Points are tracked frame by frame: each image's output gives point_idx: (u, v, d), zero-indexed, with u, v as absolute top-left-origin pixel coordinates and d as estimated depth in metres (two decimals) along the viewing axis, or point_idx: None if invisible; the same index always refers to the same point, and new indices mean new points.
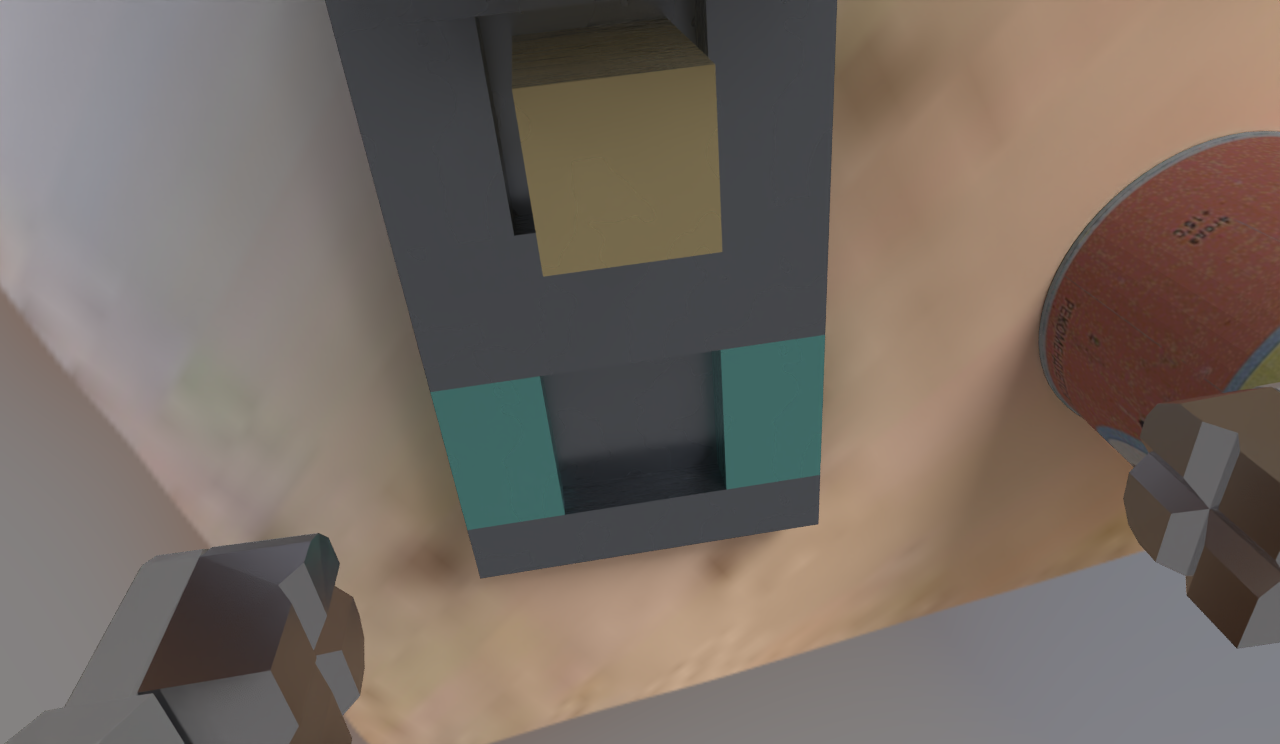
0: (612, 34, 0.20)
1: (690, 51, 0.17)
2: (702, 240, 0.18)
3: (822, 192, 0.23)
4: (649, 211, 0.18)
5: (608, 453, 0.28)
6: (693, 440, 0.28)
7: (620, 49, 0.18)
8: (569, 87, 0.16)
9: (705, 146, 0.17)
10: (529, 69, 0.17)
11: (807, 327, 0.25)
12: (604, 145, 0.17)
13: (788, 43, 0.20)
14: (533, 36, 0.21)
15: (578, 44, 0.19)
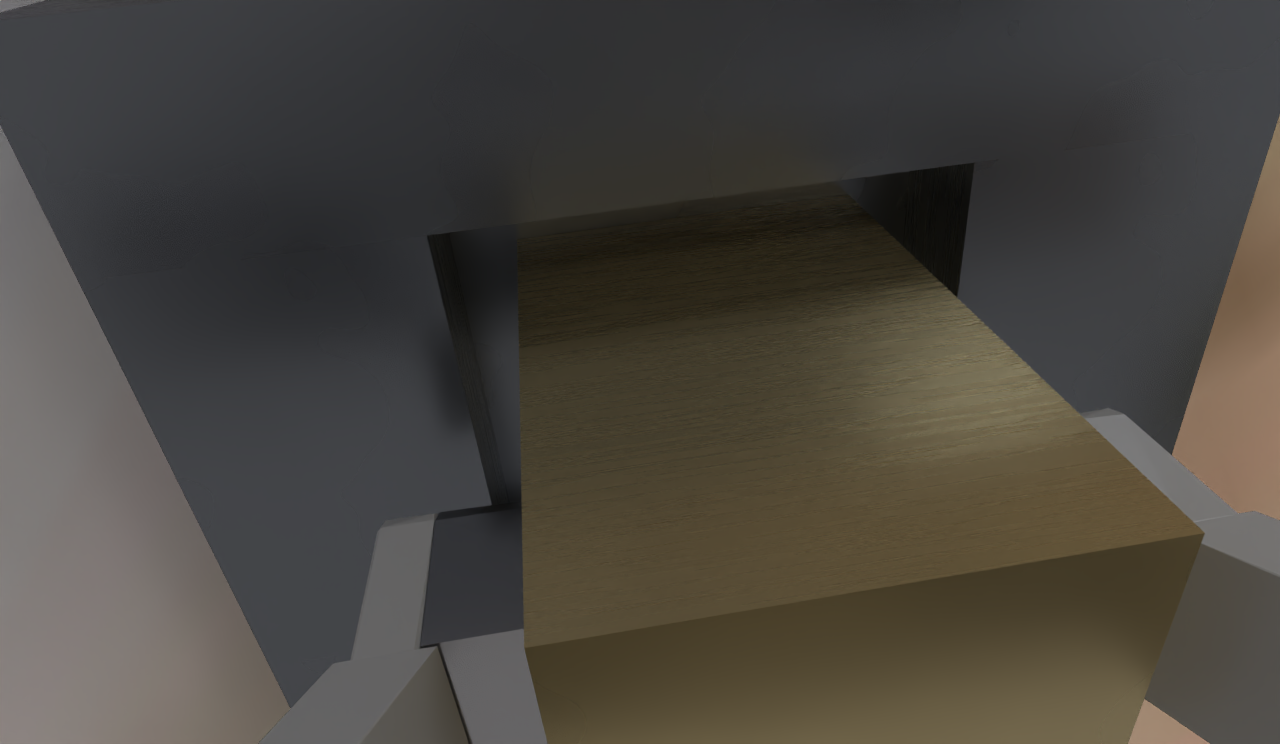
0: (752, 262, 0.09)
1: (1033, 401, 0.06)
2: None
3: None
4: None
5: None
6: None
7: (806, 353, 0.07)
8: (720, 628, 0.05)
9: (1104, 712, 0.06)
10: (572, 460, 0.06)
11: None
12: (812, 738, 0.05)
13: (1134, 265, 0.09)
14: (565, 247, 0.09)
15: (681, 306, 0.08)
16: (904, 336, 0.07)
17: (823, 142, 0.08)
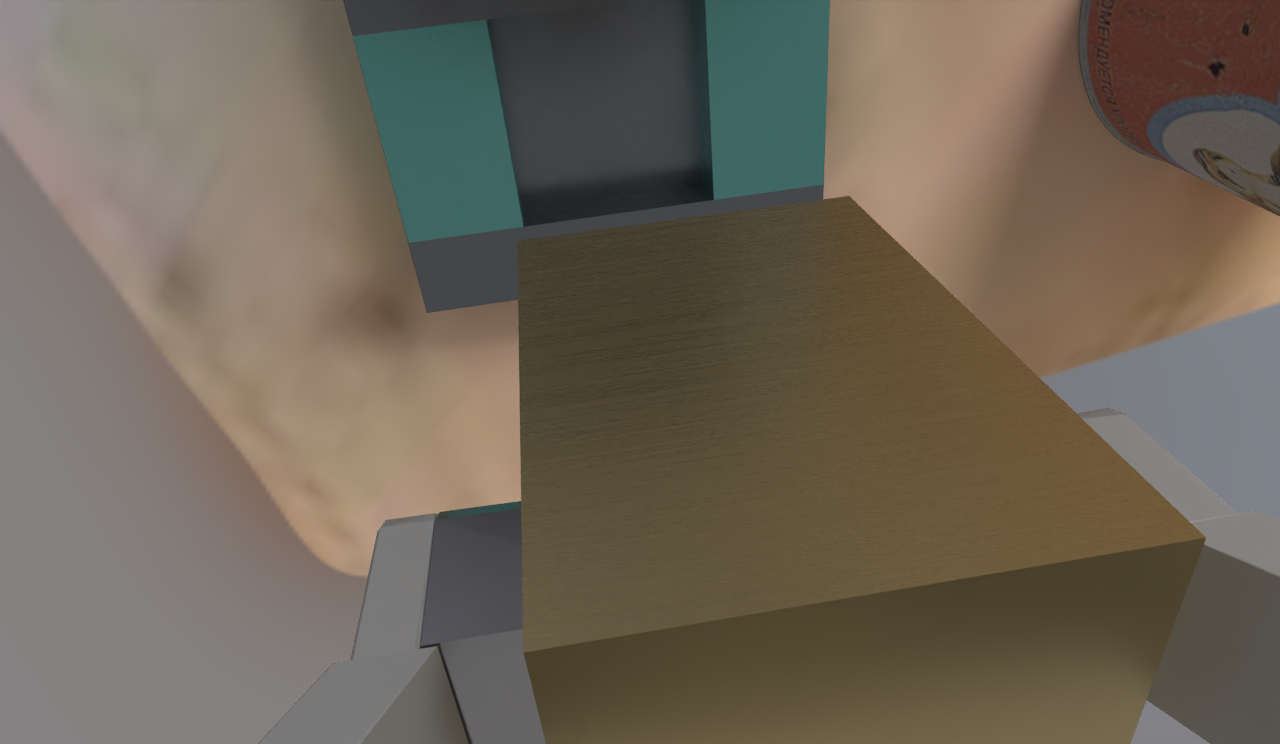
0: (752, 264, 0.08)
1: (1034, 404, 0.06)
2: None
3: None
4: None
5: (575, 163, 0.24)
6: (675, 148, 0.24)
7: (806, 356, 0.07)
8: (719, 632, 0.05)
9: (1105, 716, 0.06)
10: (572, 463, 0.06)
11: None
12: (812, 743, 0.05)
13: None
14: (565, 249, 0.09)
15: (682, 309, 0.08)
16: (905, 339, 0.07)
17: None
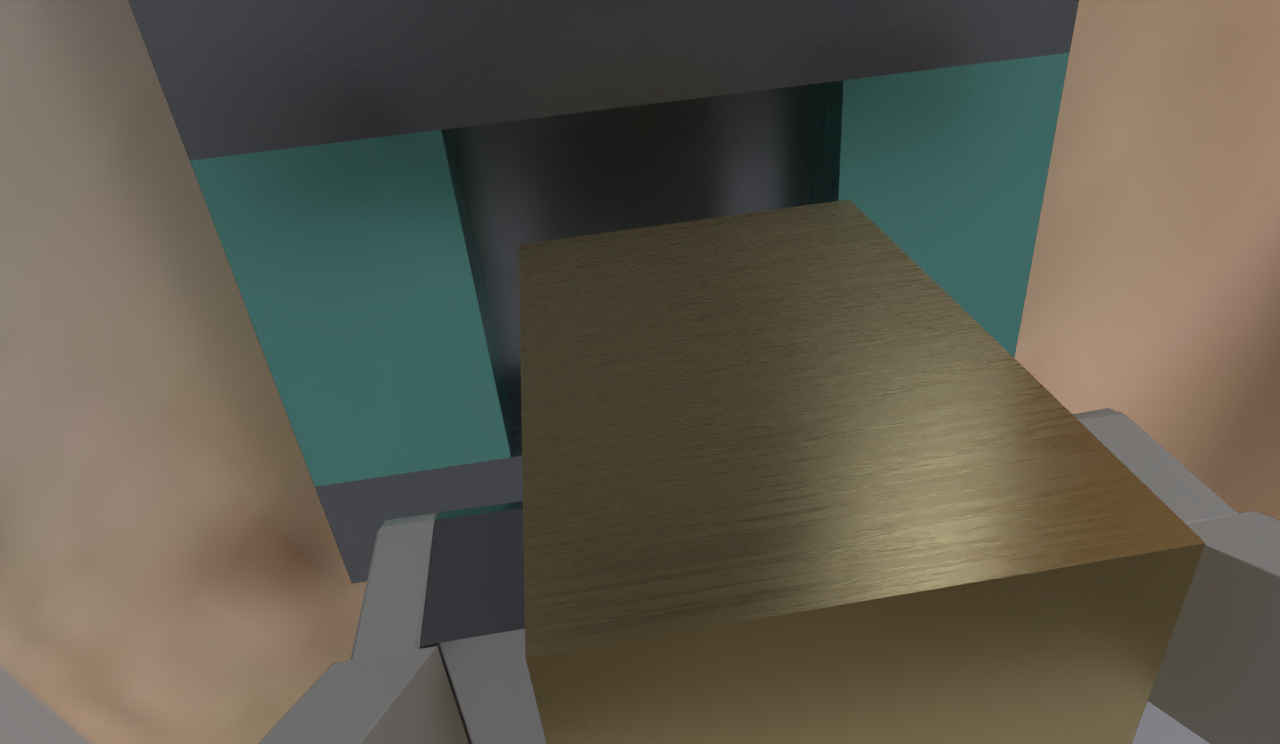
0: (753, 267, 0.09)
1: (1034, 409, 0.06)
2: None
3: None
4: None
5: None
6: None
7: (807, 360, 0.07)
8: (720, 637, 0.05)
9: (1105, 720, 0.06)
10: (573, 468, 0.06)
11: (1035, 30, 0.11)
12: None
13: None
14: (566, 252, 0.09)
15: (683, 312, 0.08)
16: (905, 343, 0.07)
17: None
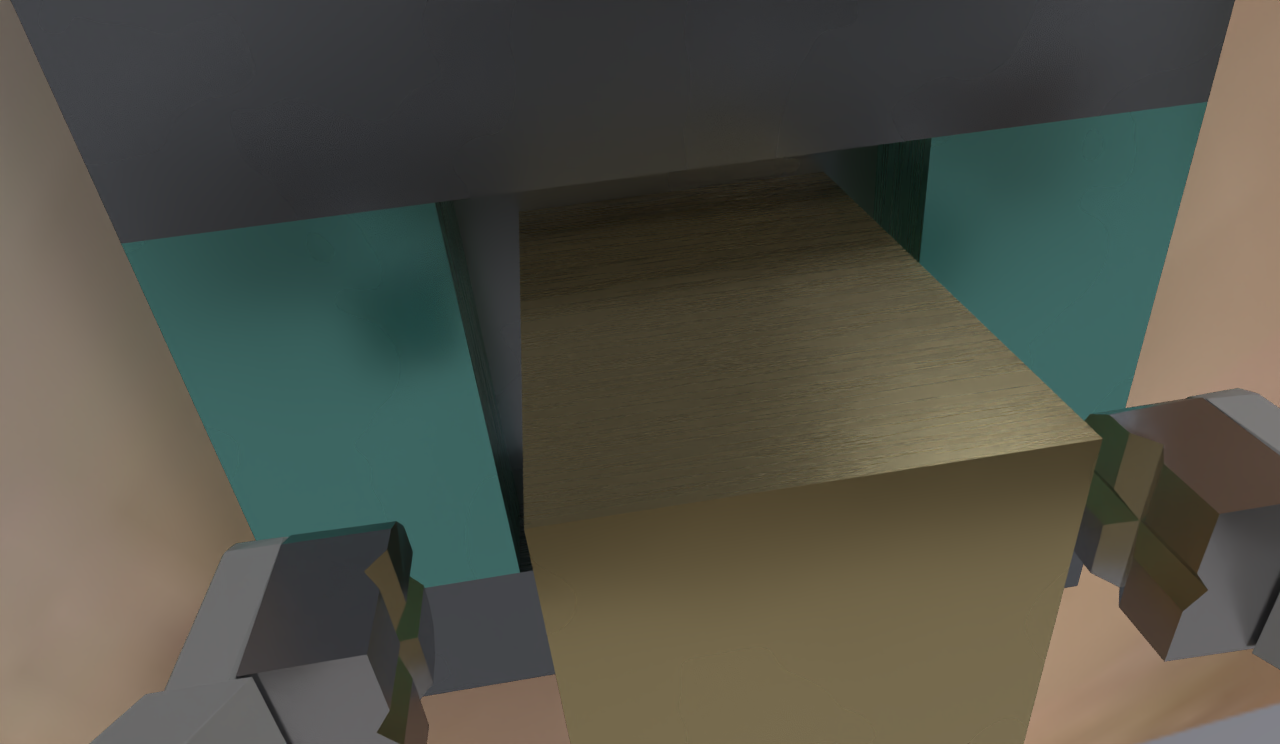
0: (732, 229, 0.09)
1: (971, 340, 0.07)
2: None
3: None
4: (863, 730, 0.07)
5: None
6: None
7: (775, 304, 0.08)
8: (689, 514, 0.06)
9: (1027, 606, 0.06)
10: (566, 389, 0.07)
11: (1168, 76, 0.09)
12: (772, 623, 0.06)
13: None
14: (562, 218, 0.10)
15: (666, 266, 0.09)
16: (863, 289, 0.08)
17: None
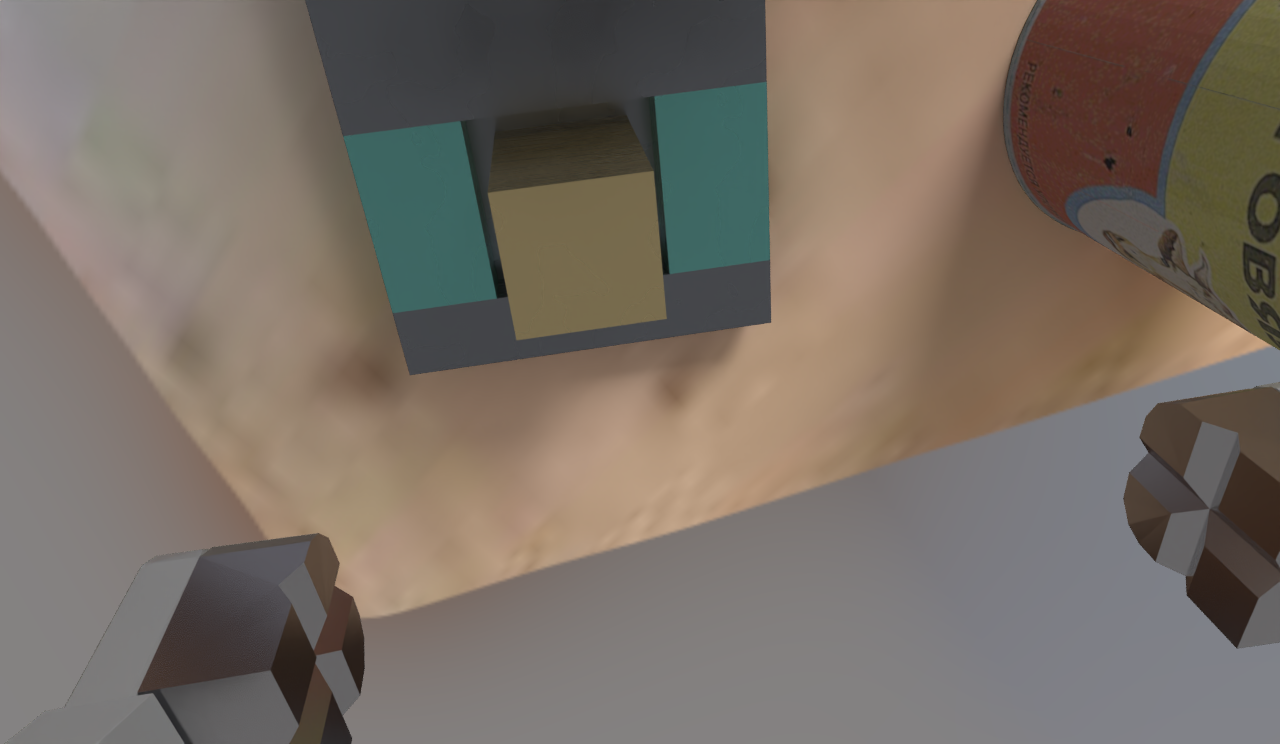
0: (578, 133, 0.24)
1: (637, 155, 0.21)
2: (649, 309, 0.22)
3: None
4: (604, 286, 0.21)
5: None
6: None
7: (581, 151, 0.22)
8: (534, 191, 0.20)
9: (648, 234, 0.21)
10: (504, 171, 0.21)
11: (747, 71, 0.23)
12: (565, 235, 0.20)
13: None
14: (512, 133, 0.24)
15: (548, 144, 0.23)
16: (613, 146, 0.22)
17: None
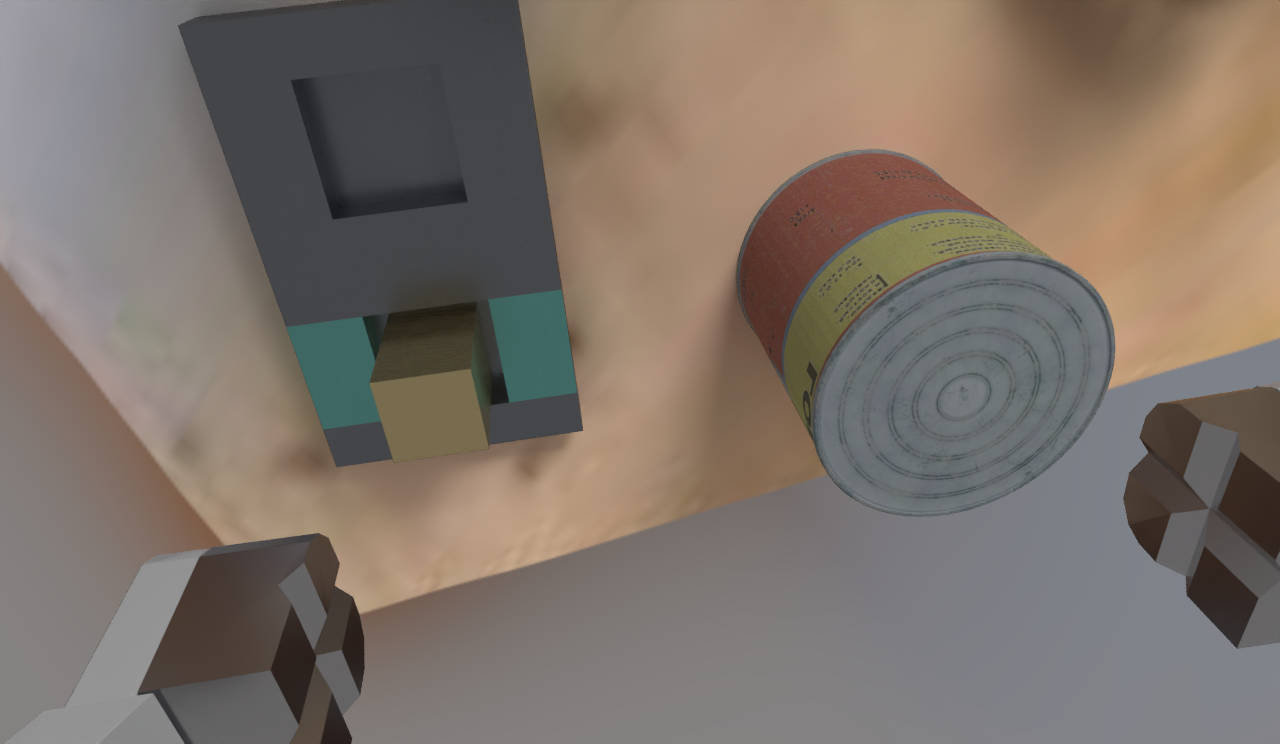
0: (439, 321, 0.36)
1: (466, 351, 0.34)
2: (477, 443, 0.35)
3: (542, 191, 0.34)
4: (447, 431, 0.34)
5: None
6: None
7: (435, 342, 0.35)
8: (397, 381, 0.33)
9: (471, 402, 0.34)
10: (384, 361, 0.34)
11: (547, 284, 0.36)
12: (419, 404, 0.33)
13: (499, 95, 0.32)
14: (399, 316, 0.37)
15: (418, 332, 0.36)
16: (456, 339, 0.35)
17: (394, 56, 0.31)
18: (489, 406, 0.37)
